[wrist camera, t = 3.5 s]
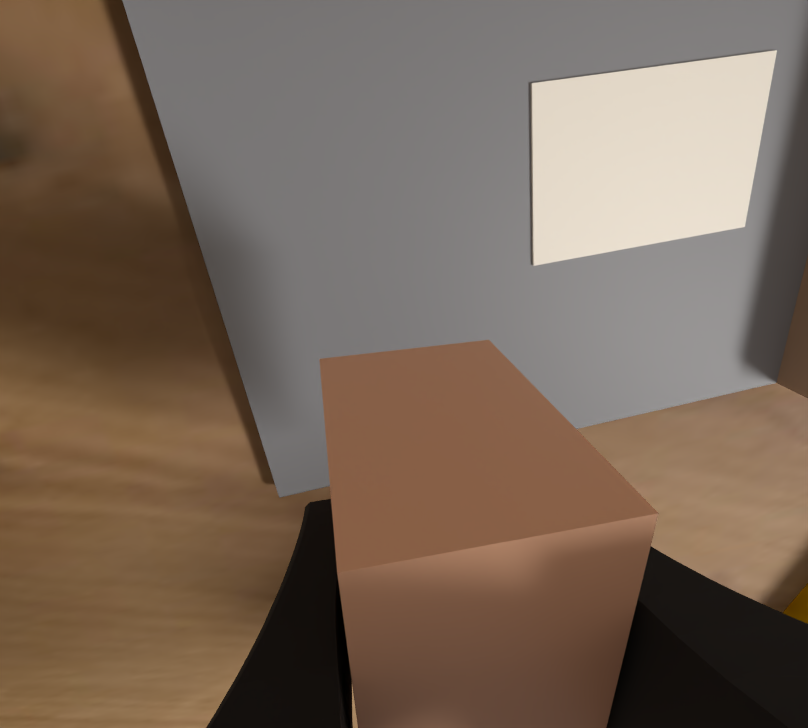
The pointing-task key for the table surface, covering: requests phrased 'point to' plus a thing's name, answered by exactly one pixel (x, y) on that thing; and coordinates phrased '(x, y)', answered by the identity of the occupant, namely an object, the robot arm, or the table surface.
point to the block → (475, 544)
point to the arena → (493, 192)
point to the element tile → (799, 606)
